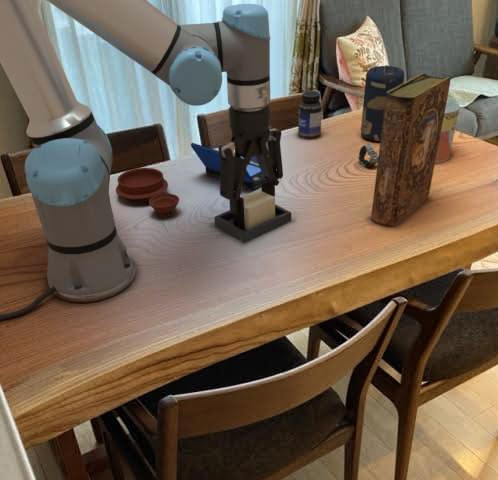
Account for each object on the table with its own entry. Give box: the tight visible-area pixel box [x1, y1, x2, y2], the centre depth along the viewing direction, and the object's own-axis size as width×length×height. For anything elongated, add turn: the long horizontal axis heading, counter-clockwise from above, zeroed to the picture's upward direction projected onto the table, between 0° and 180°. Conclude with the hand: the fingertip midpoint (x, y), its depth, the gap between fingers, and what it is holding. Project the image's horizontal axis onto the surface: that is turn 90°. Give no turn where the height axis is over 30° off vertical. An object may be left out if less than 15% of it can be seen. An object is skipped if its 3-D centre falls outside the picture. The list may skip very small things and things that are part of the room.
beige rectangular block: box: [241, 189, 276, 230], centre depth 109 cm, size 7×5×5 cm
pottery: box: [115, 167, 180, 218], centre depth 118 cm, size 12×20×4 cm, turn 35°
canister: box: [360, 64, 405, 142], centre depth 139 cm, size 10×10×18 cm
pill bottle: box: [297, 90, 323, 140], centre depth 144 cm, size 6×6×11 cm
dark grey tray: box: [213, 204, 292, 243], centre depth 110 cm, size 13×10×2 cm
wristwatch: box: [357, 143, 379, 168], centre depth 130 cm, size 3×5×5 cm
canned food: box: [435, 99, 461, 164], centre depth 131 cm, size 11×11×12 cm
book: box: [370, 72, 452, 228], centre depth 105 cm, size 16×6×25 cm, turn 141°
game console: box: [190, 142, 266, 190], centre depth 125 cm, size 16×13×9 cm
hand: (253, 219), depth 110 cm, fingers closed on beige rectangular block, 7 cm apart
